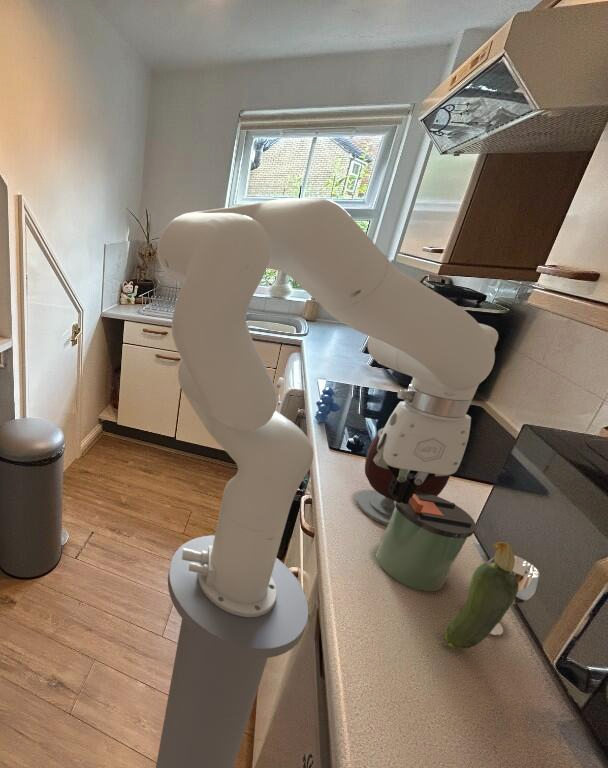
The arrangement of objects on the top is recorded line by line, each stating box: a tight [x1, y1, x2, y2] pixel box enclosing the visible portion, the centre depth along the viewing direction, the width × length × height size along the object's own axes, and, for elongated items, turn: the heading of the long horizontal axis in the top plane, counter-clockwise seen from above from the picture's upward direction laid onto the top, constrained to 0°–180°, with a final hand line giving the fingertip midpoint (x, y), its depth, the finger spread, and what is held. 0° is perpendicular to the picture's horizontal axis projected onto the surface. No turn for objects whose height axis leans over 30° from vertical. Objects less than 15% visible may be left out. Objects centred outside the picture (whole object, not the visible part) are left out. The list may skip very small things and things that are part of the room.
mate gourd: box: [355, 427, 452, 526], centre depth 85 cm, size 16×14×20 cm
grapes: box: [314, 386, 341, 423], centre depth 124 cm, size 12×7×12 cm, turn 149°
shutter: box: [408, 494, 444, 517], centre depth 68 cm, size 4×4×2 cm
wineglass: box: [486, 554, 541, 636], centre depth 62 cm, size 6×6×12 cm
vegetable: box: [444, 541, 518, 650], centre depth 55 cm, size 4×4×20 cm
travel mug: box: [375, 491, 477, 592], centre depth 71 cm, size 11×11×14 cm
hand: (397, 498), depth 69 cm, fingers closed
